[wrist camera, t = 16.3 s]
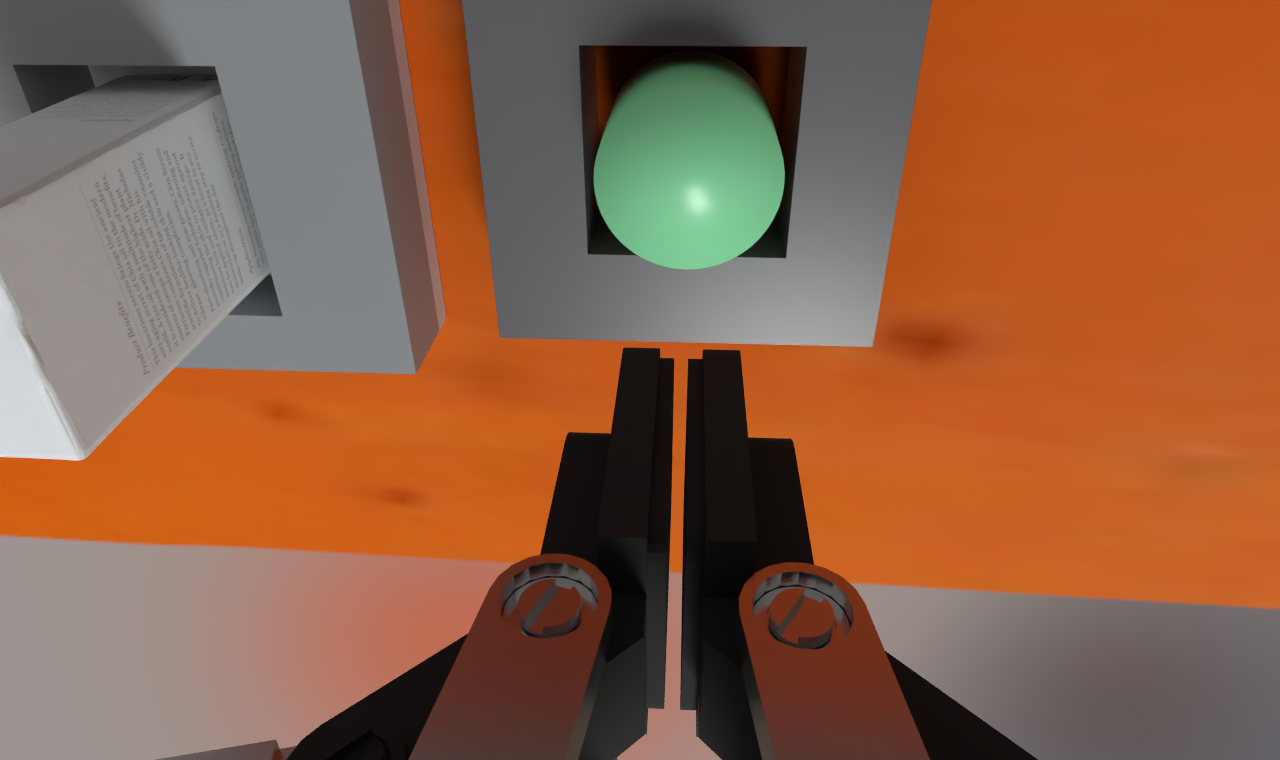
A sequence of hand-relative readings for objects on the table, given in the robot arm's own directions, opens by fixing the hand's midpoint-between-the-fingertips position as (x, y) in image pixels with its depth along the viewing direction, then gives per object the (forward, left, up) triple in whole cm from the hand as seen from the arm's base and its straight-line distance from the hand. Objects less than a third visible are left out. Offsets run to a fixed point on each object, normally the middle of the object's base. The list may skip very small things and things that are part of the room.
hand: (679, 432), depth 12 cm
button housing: (0, 0, -17) cm, 17 cm away
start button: (0, 0, -15) cm, 15 cm away
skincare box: (+16, +1, -16) cm, 23 cm away
